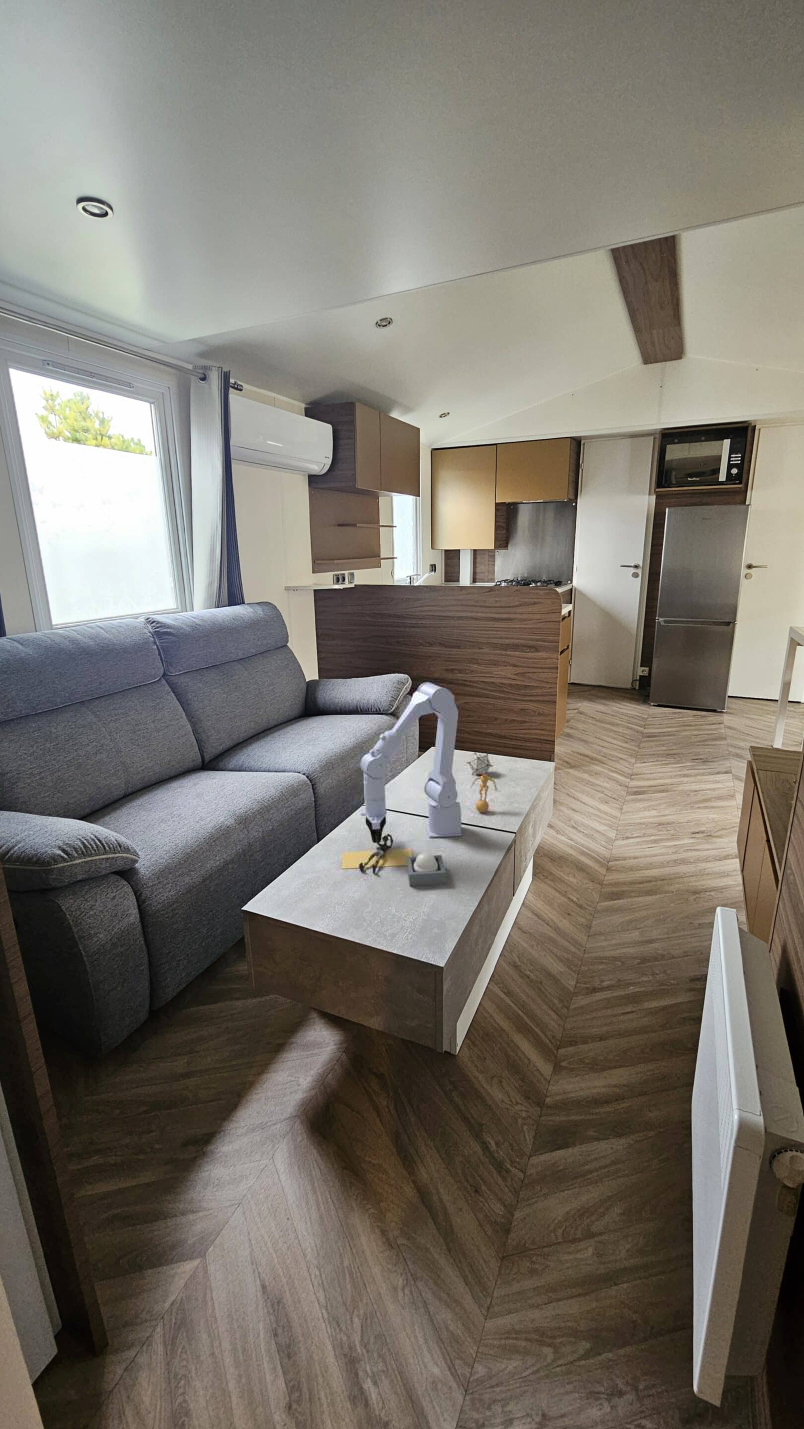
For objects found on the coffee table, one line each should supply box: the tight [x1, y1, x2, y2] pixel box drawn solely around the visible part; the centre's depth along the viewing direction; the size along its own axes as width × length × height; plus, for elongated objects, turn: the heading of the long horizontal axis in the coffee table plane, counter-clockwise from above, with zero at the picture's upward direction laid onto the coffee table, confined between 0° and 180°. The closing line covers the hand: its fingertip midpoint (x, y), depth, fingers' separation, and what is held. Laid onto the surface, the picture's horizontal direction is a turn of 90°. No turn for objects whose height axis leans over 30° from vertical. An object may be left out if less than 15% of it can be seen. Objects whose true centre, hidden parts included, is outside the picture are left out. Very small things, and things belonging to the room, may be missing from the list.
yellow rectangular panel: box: [341, 848, 414, 870], centre depth 166 cm, size 19×9×1 cm, turn 94°
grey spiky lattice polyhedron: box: [466, 752, 494, 776], centre depth 224 cm, size 9×8×10 cm
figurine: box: [470, 773, 498, 813], centre depth 193 cm, size 8×6×12 cm
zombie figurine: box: [358, 830, 394, 874], centre depth 165 cm, size 5×7×15 cm
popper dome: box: [414, 851, 438, 872], centre depth 155 cm, size 6×6×5 cm
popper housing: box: [406, 854, 447, 887], centre depth 156 cm, size 9×9×3 cm
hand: (376, 841), depth 172 cm, fingers closed
